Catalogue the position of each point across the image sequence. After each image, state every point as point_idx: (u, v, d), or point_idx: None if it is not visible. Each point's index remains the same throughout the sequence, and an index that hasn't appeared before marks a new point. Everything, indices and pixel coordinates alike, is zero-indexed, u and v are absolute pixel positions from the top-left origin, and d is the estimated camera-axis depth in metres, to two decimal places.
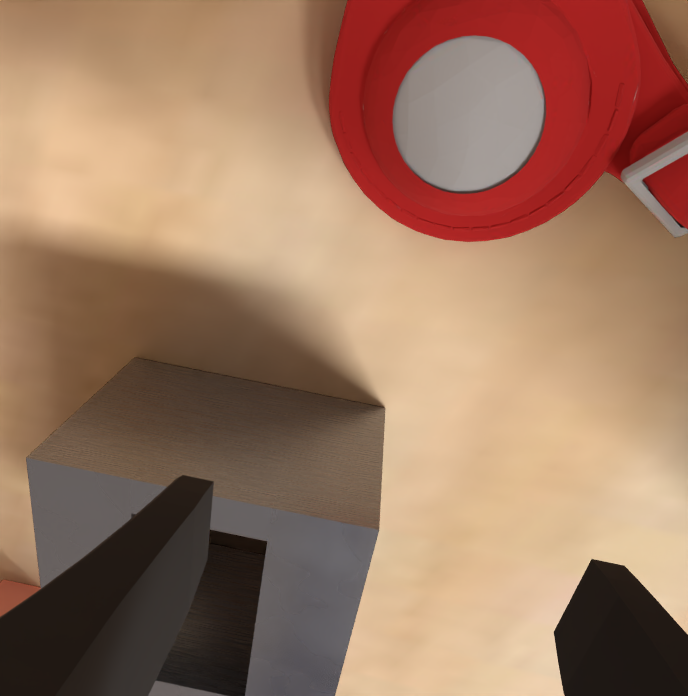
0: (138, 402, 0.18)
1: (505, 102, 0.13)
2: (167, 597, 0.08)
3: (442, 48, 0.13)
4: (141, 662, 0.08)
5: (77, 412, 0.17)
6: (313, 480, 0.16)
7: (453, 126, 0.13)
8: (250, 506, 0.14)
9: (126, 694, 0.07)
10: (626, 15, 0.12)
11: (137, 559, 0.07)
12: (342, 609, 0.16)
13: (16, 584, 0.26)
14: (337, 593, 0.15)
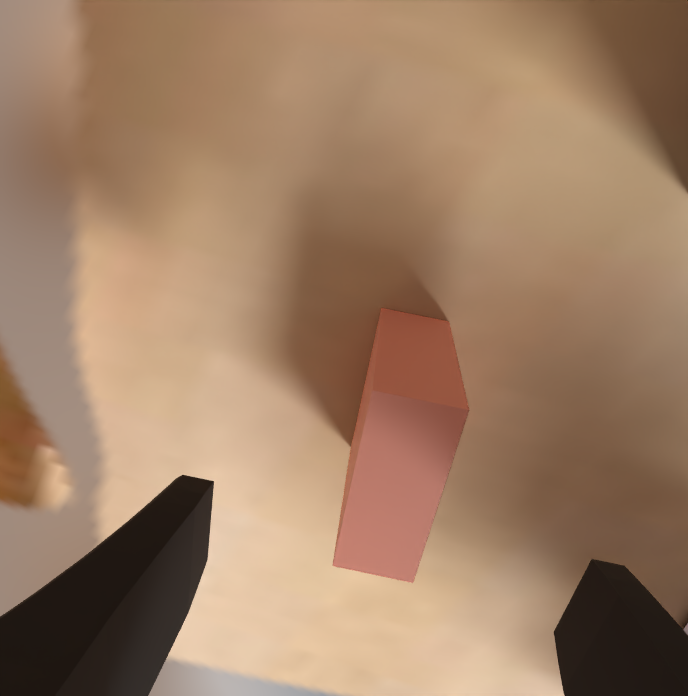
0: None
1: None
2: (167, 597, 0.08)
3: None
4: (141, 662, 0.08)
5: None
6: None
7: None
8: None
9: (126, 694, 0.07)
10: None
11: (136, 559, 0.07)
12: None
13: (408, 314, 0.15)
14: None
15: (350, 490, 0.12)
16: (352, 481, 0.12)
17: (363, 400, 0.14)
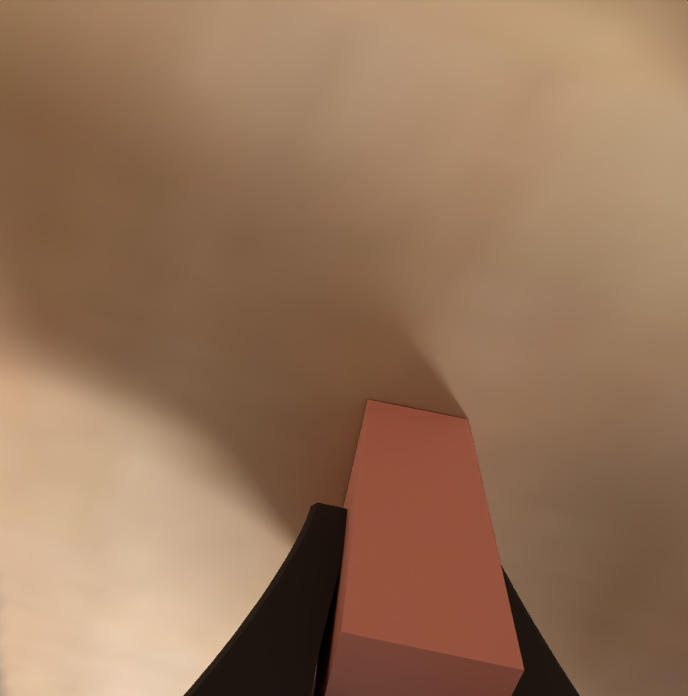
0: None
1: None
2: (324, 630, 0.08)
3: None
4: None
5: None
6: None
7: None
8: None
9: None
10: None
11: (316, 596, 0.07)
12: None
13: (408, 411, 0.10)
14: None
15: None
16: None
17: None
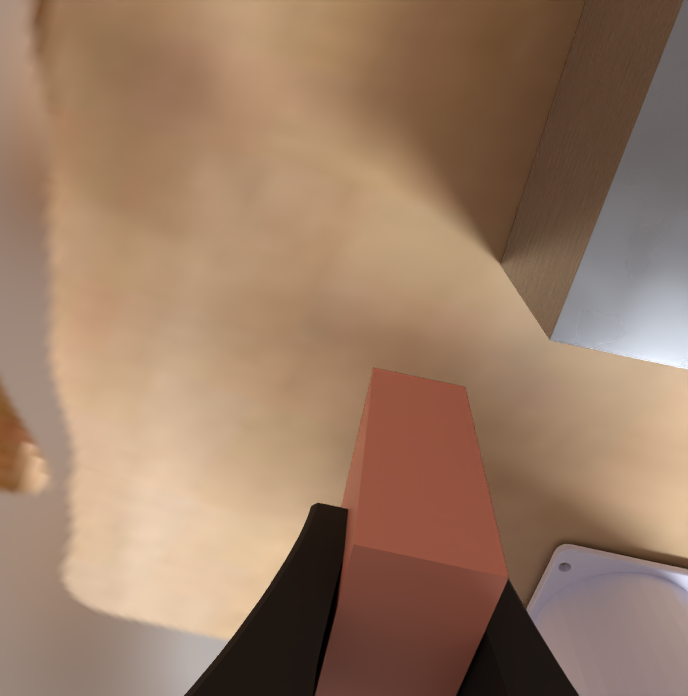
0: None
1: None
2: (324, 630, 0.08)
3: None
4: None
5: None
6: None
7: None
8: None
9: None
10: None
11: (317, 596, 0.07)
12: None
13: (410, 378, 0.11)
14: None
15: (322, 672, 0.08)
16: (324, 661, 0.08)
17: (347, 501, 0.10)
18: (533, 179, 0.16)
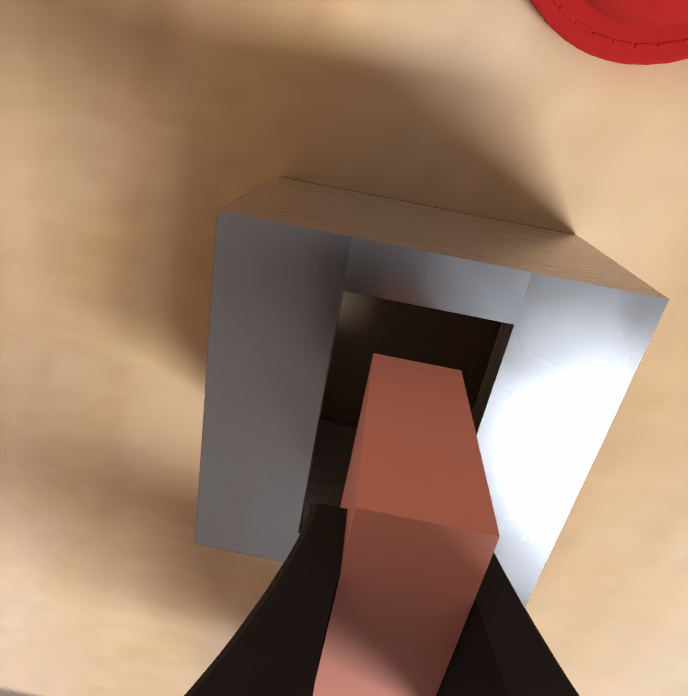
0: (311, 198, 0.15)
1: None
2: (324, 630, 0.08)
3: None
4: None
5: (247, 197, 0.14)
6: (556, 262, 0.13)
7: None
8: (503, 271, 0.11)
9: None
10: None
11: (317, 597, 0.07)
12: (590, 423, 0.13)
13: (408, 362, 0.11)
14: (589, 400, 0.12)
15: (327, 633, 0.08)
16: (330, 622, 0.08)
17: (349, 479, 0.11)
18: None
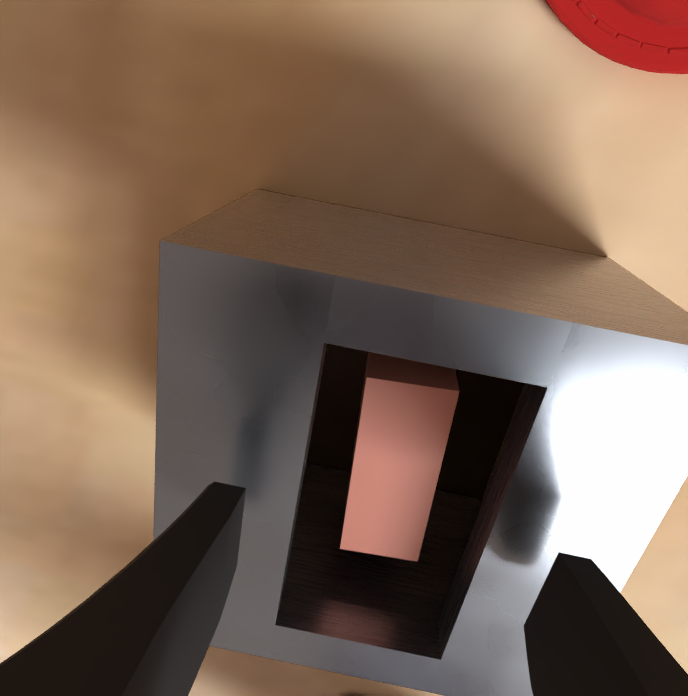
0: (290, 218, 0.12)
1: None
2: (204, 605, 0.08)
3: None
4: (180, 670, 0.08)
5: (210, 217, 0.11)
6: (598, 303, 0.10)
7: None
8: (535, 320, 0.09)
9: None
10: None
11: (179, 568, 0.07)
12: (642, 508, 0.10)
13: None
14: (642, 480, 0.10)
15: (352, 474, 0.12)
16: (353, 466, 0.12)
17: None
18: None
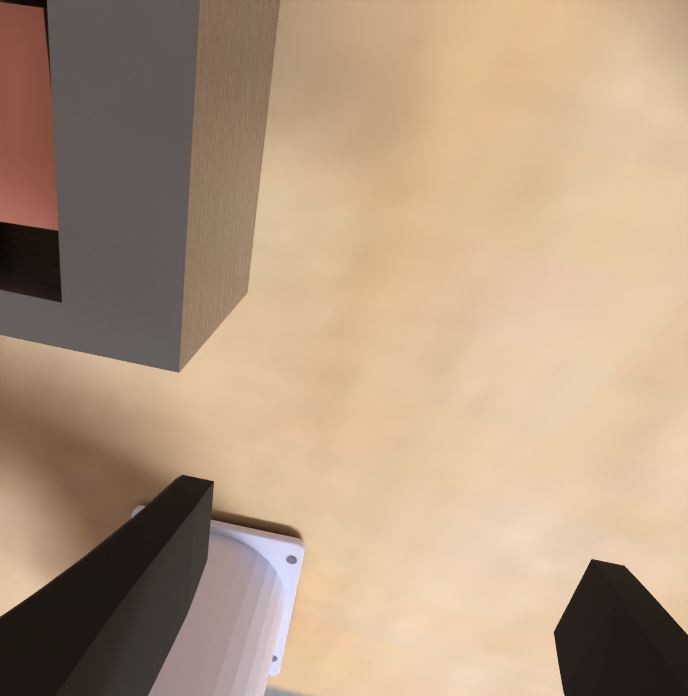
0: None
1: None
2: (167, 597, 0.08)
3: None
4: (141, 662, 0.08)
5: None
6: None
7: None
8: None
9: (126, 694, 0.07)
10: None
11: (137, 559, 0.07)
12: (173, 79, 0.10)
13: None
14: (162, 42, 0.10)
15: None
16: None
17: None
18: None
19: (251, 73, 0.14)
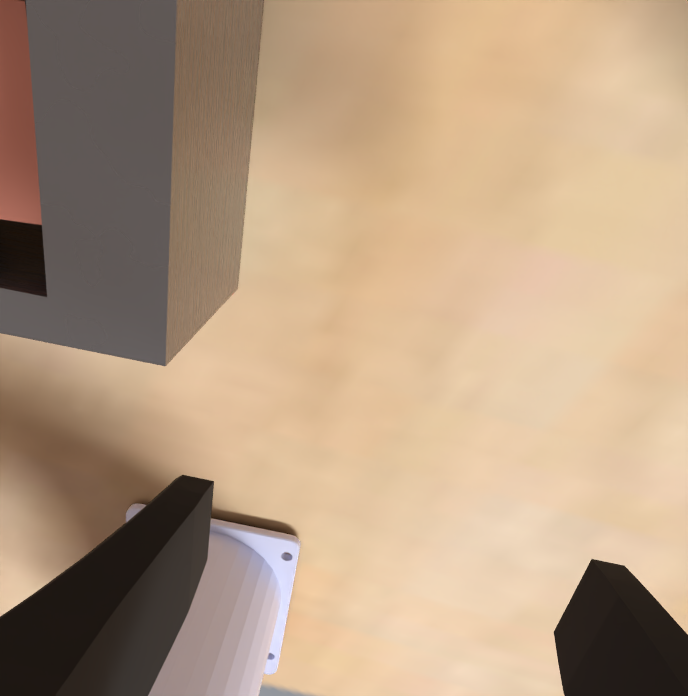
0: None
1: None
2: (167, 597, 0.08)
3: None
4: (141, 662, 0.08)
5: None
6: None
7: None
8: None
9: (126, 694, 0.07)
10: None
11: (137, 559, 0.07)
12: (152, 70, 0.10)
13: None
14: (140, 33, 0.10)
15: None
16: None
17: None
18: None
19: (235, 66, 0.14)
